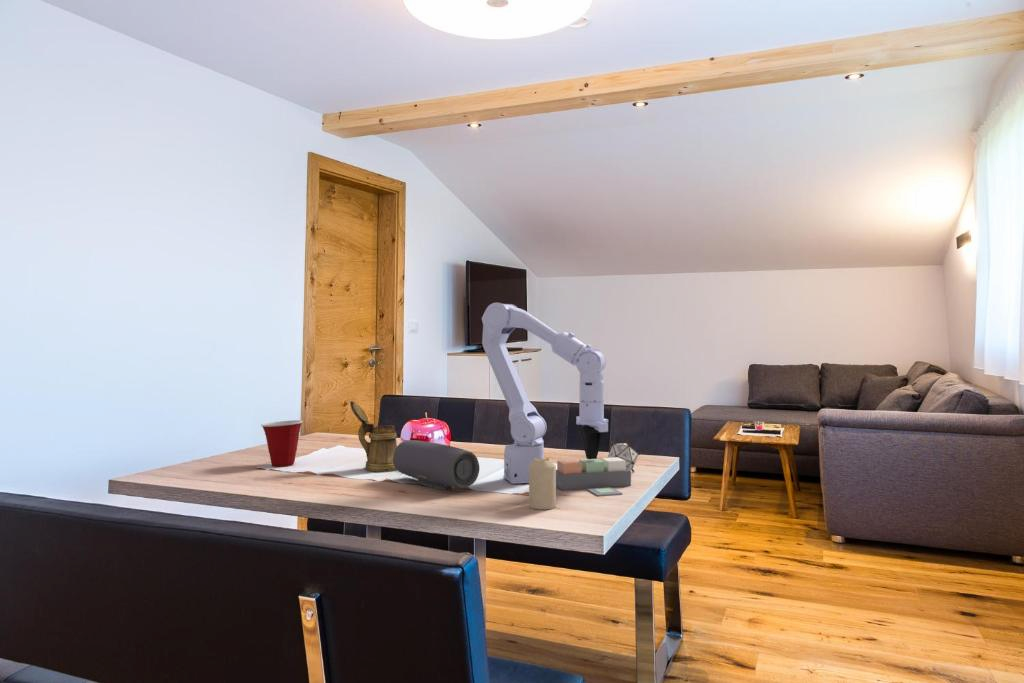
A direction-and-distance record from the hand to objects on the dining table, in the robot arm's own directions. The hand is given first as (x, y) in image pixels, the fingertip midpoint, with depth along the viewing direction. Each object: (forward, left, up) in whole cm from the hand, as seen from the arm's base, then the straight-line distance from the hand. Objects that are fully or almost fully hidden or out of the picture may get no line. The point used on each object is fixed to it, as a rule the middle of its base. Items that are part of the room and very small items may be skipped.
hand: (591, 458), depth 158 cm
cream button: (+6, 0, -4) cm, 7 cm away
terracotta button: (-6, 0, -3) cm, 7 cm away
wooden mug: (-48, +35, -6) cm, 59 cm away
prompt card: (0, -7, -6) cm, 10 cm away
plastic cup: (-72, +47, -6) cm, 86 cm away
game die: (+13, +12, -6) cm, 19 cm away
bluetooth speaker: (-36, +11, -7) cm, 38 cm away
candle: (-18, -15, -6) cm, 24 cm away
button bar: (0, 0, -6) cm, 6 cm away
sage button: (0, 0, -4) cm, 4 cm away
